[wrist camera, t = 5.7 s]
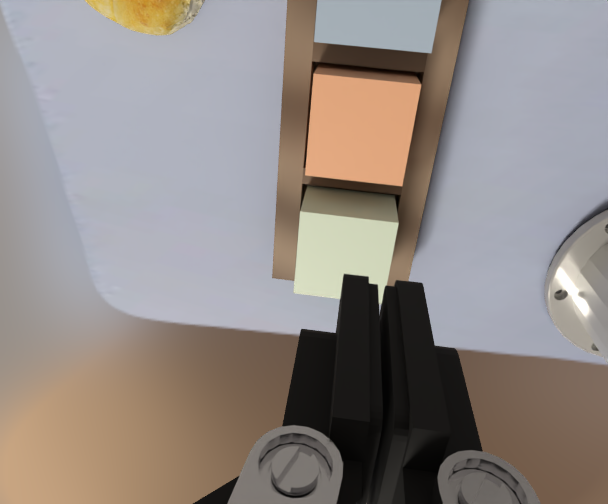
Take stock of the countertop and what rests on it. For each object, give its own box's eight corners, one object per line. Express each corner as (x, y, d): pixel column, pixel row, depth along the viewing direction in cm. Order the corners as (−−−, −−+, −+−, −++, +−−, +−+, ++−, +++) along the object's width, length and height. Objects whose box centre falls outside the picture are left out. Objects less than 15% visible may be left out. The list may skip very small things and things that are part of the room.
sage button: (381, 270, 32) (382, 304, 29) (301, 260, 33) (293, 293, 29) (394, 195, 30) (398, 222, 26) (307, 185, 30) (299, 211, 27)
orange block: (397, 163, 30) (402, 186, 27) (311, 153, 31) (304, 175, 27) (414, 72, 28) (421, 84, 24) (319, 62, 28) (313, 73, 24)
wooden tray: (402, 271, 35) (405, 294, 32) (279, 256, 36) (272, 277, 33) (479, -102, 24) (493, -112, 22) (301, -116, 25) (294, -128, 22)
